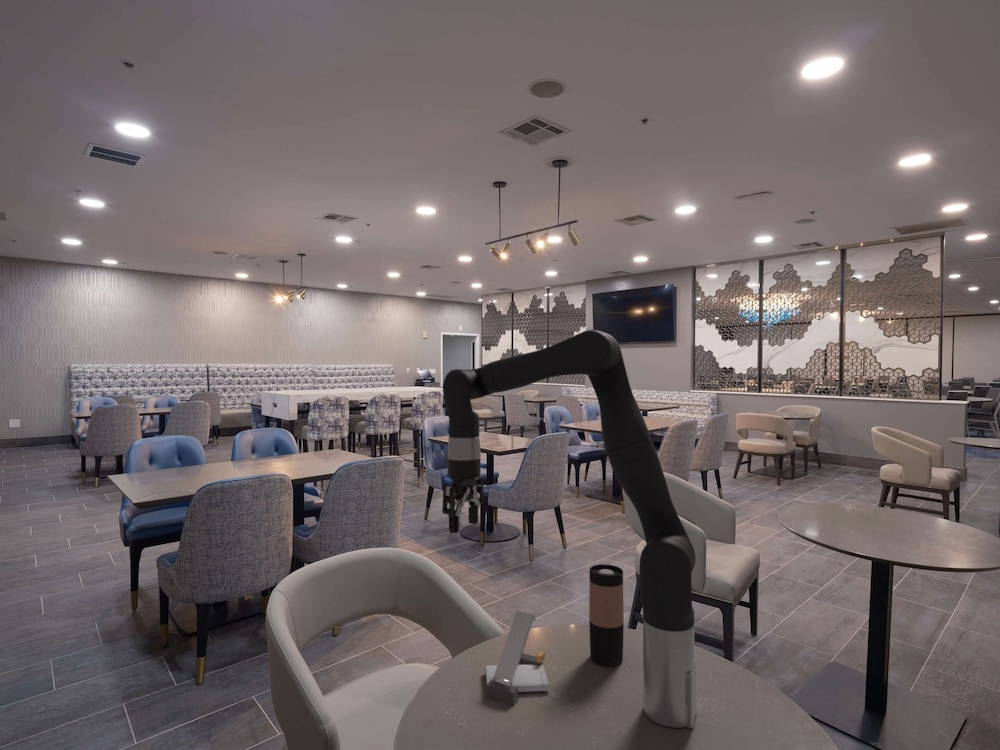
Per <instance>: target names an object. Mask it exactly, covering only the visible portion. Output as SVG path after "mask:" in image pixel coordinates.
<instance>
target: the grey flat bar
mask: <svg viewBox="0 0 1000 750" xmlns="http://www.w3.org/2000/svg"><path fill="white" fill-rule="evenodd" d="M533 621H536V617H535V615H534V613H533V614H531V613H529V612H528V613H527V612H523V611H519V610H516V612H515V615H514V617H513V620H512V623H511V626H510V629H509V630H508V631H509V632H508V634H507V637H506V641H505V643H504V646H503V649H502V651H501V654H500V657H499V660H498V663H497V664H496V666H497V668H496V671H495V674H494V677H493V678H492V682H494V683H498V684H501V685H505V686H508V687H512V684H513V680H514V677H515V674H516V671H517V668H518V665H519V662H520V658H521V655H522V653H523V652H524V648H525V645H526V642H527V640H528V636H529V634H530V630H531V627H532V624H533Z"/></svg>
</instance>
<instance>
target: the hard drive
mask: <svg viewBox="0 0 1000 750" xmlns="http://www.w3.org/2000/svg"><path fill="white" fill-rule="evenodd" d="M496 668H497V665H485V668H484V669H485V671H484V673H485V680H486V681H485V683H486V685H485V686H487V684H488V683H489V682H490V681H491V680H492V678H493V677H494V674H495V671H496ZM512 686H514V687H517V688H518V693H526V692H549V691H550V683H549V680H548V678H547V674H546V670H545V667H544V663H543V664H541V665H540V666H538V665H532V664H531V665H518V668H517V671H516V674H515V677H514V680H513V684H512Z"/></svg>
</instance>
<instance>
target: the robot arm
mask: <svg viewBox="0 0 1000 750" xmlns="http://www.w3.org/2000/svg"><path fill="white" fill-rule="evenodd" d="M570 375H571V376H572V375H573V376H574V375H586V376H587V377H588V379H589V382H590V384H591V385H592V388H593V390H594V392H595V396H596V398H597V403H598V407H599V414H600V426H601V434H602V441H603V444H604V448H605V452H606V455H607V457H608V461H609V464H610V466H611V469H612V471H613V474H614V476H615V478H616V480H617V482H618V483H619V485H620V487H621V488H622V490H623V492H624V493H625V495H626V496H627V497H628V499H629V500H630V501H631V503H632V505H633V507H634V509H635V510H636V512H637V515H638V518H639V521H640V525H641V527H642V530H643V534H644V539H645V543H646V545H645V546H644V547H643V549H642V550H641V553H640V557H639V596H640V597H639V598H640V605H641V608H642V614H643V615H642V618H643V619H642V620H643V621H642V626H643V627H642V629H643V633H642V635H643V639H642V640H643V643H642V645H643V647H642V648H643V649H642V650H643V651H642V652H643V660H642V661H643V662H642V663H643V664H642V665H643V666H642V667H643V677H642V678H643V697H642V698H643V699H642V700H643V712H644V714H645V715H646V717H648V719H650V720H651V721H652V722H654V723H656V724H659V725H660V726H664V727H667V728H676V729H677V728H680V729H681V728H688V729H693V728H694V724H695V720H696V716H697V712H698V710H697V708H698V706H697V705H698V703H697V702H698V701H697V700H698V699H697V698H698V697H697V695H698V694H697V693H698V691H697V679H698V678H697V677H698V676H697V660H695V611H694V608H693V602H692V601H693V598H692V596H693V595H692V591H693V590H692V576H693V575H692V573H693V571H694V568H695V565H696V559H697V558H696V552H695V548H694V546H693V543H692V542H691V539H690V537H689V536H688V535H689V534H688V533H687V532H686V529H685V527H684V524H683V523H682V521H681V518H680V516H679V514H678V511H677V510H676V507H675V505H674V503H673V501H672V498H671V493H670V490H669V487H668V483H667V481H666V478H665V474H664V472H663V468H662V465H661V461H660V457H659V455H658V452H657V450H656V446H655V444H654V442H653V438H652V436H651V434H650V432H649V429H648V426H647V424H646V421H645V419H644V416H643V414H642V412H641V409H640V407H639V404H638V403H637V400H636V398H635V396H634V393H633V391H632V389H631V385H630V381H629V377H628V373H627V368H626V366H625V361H624V356H623V353H622V350H621V347H620V344H619V342H618V341H617V340H616V338H614V337H613V336H612V335H611V334H609V333H607V332H603V331H600V330H598V329H597V330H596V329H586V330H584V331H582V332H580V333H577V334H575V335H573V336H571V337H568V338H566V339H564V340H562V341H560V342H558V343H555V344H553V345H549V346H547V347H545V348H541V349H538V350H535V351H531V352H526V353H522V354H517V355H513V356H510V357H506V358H501V359H498V360H494V361H490V362H488V363H486V364H485V365H484V366H481V367H478V368H472V369H461V368H458V369H457V368H456V369H455V368H454V369H452V370H450V371H449V372H448V373H447V374H446V375H445V377H444V379H443V383H442V394H443V401H444V404H445V405H444V406H445V409H446V412H447V416H448V441H447V442H448V443H447V477H448V478H449V479H451V480H452V482H451V485H450V486H448V485H444V486H443V487H442V510H441V511H442V514H444V515H447V516H448V532H449V533H454V534H456V533H458V532H460V512H461V509H462V508H463V507H464V506H465V503H467V504H468V523H469V524H472V525H477V524H478V523H479V508H480V507H481V504H484V502H485V497H484V496H485V495H484V492H485V491H484V479H483V478H481V471H482V470H481V469H482V468H481V467H482V465H481V458H482V457H481V448H482V447H481V441H480V416H479V414H478V412H476V411H474V410H473V407H472V402H471V400H472V401H473V400H476V399H479V398H483V397H486V396H487V397H488V396H490V395H492V394H494V393H495V394H496V393H503V392H506V391H511V390H516V389H520V388H523V387H526V386H529V385H532V384H535V383H536V382H540V381H542V380H543V381H544V380H546V379H549V378H553V377H561V376H570ZM448 504H449V505H448Z"/></svg>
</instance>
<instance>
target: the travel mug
mask: <svg viewBox="0 0 1000 750" xmlns="http://www.w3.org/2000/svg"><path fill="white" fill-rule="evenodd" d="M588 576H589V582H588V583H589V585H588V586H589V587H588V588H589V591H588V593H589V594H588V595H589V601H588V603H589V605H588V608H589V610H588V613H589V614H588V617H589V618H588V620H589V621H588V625H589V626H588V627H589V650H590V651H589V653H590V654H589V655H590V660H591V662H593V663H594V664H596V665H598V666H601V667H603V668H616V667H619V666H620V665H622V664H623V661H624V660H623V658H624V631H625V630H624V629H625V628H624V625H625V623H624V622H625V617H624V614H625V613H624V612H625V609H624V606H625V605H624V570H623V569H622V568H621V567H619V566H616V565H612V564H605V563H604V564H596V565H591V566H590V568H589V575H588Z"/></svg>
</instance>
